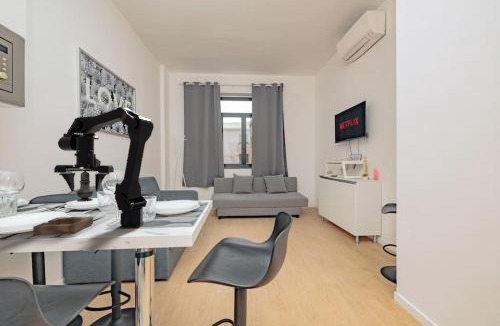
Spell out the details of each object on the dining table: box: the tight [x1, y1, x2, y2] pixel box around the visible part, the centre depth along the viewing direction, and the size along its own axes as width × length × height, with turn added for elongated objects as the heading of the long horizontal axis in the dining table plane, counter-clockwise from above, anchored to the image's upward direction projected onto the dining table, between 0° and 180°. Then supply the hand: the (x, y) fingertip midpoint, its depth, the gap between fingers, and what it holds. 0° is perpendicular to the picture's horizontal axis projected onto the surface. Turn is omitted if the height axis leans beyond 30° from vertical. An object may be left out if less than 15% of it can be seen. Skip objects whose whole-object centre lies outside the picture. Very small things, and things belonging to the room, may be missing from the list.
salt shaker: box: [75, 171, 95, 203], centre depth 95 cm, size 6×6×12 cm
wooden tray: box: [32, 216, 94, 236], centre depth 84 cm, size 12×12×2 cm
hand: (85, 191), depth 95 cm, fingers closed on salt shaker, 8 cm apart
